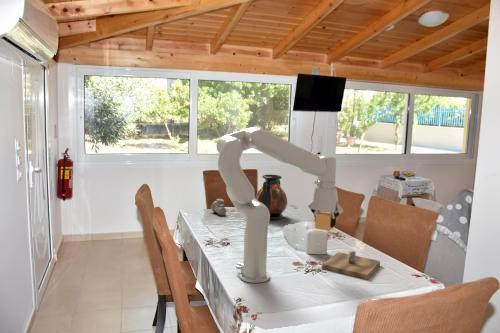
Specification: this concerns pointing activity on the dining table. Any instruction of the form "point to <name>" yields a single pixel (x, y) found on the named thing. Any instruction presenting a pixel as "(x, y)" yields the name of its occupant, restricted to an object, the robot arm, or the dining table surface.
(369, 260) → the board
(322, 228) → the solid orange cube
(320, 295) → the dining table surface
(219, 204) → the grey lumpy piece
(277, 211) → the amphora vase
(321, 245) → the photo printer
